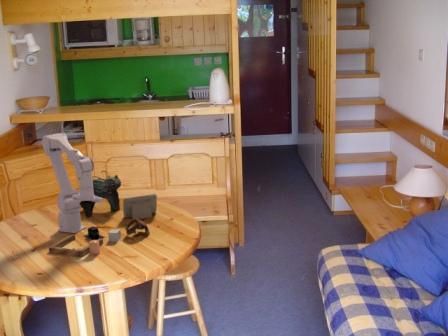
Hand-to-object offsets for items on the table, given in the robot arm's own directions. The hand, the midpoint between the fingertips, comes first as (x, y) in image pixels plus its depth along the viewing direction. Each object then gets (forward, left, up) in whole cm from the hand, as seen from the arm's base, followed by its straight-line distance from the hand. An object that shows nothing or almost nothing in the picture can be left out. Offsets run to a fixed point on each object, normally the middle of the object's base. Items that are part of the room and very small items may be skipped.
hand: (89, 217), depth 238 cm
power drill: (-18, +34, -10) cm, 40 cm away
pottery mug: (+17, +11, -10) cm, 23 cm away
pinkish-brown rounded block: (+11, -13, -10) cm, 20 cm away
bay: (0, -10, -10) cm, 14 cm away
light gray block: (+11, +2, -10) cm, 15 cm away
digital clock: (+6, +31, -10) cm, 34 cm away
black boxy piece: (0, +2, -11) cm, 11 cm away
